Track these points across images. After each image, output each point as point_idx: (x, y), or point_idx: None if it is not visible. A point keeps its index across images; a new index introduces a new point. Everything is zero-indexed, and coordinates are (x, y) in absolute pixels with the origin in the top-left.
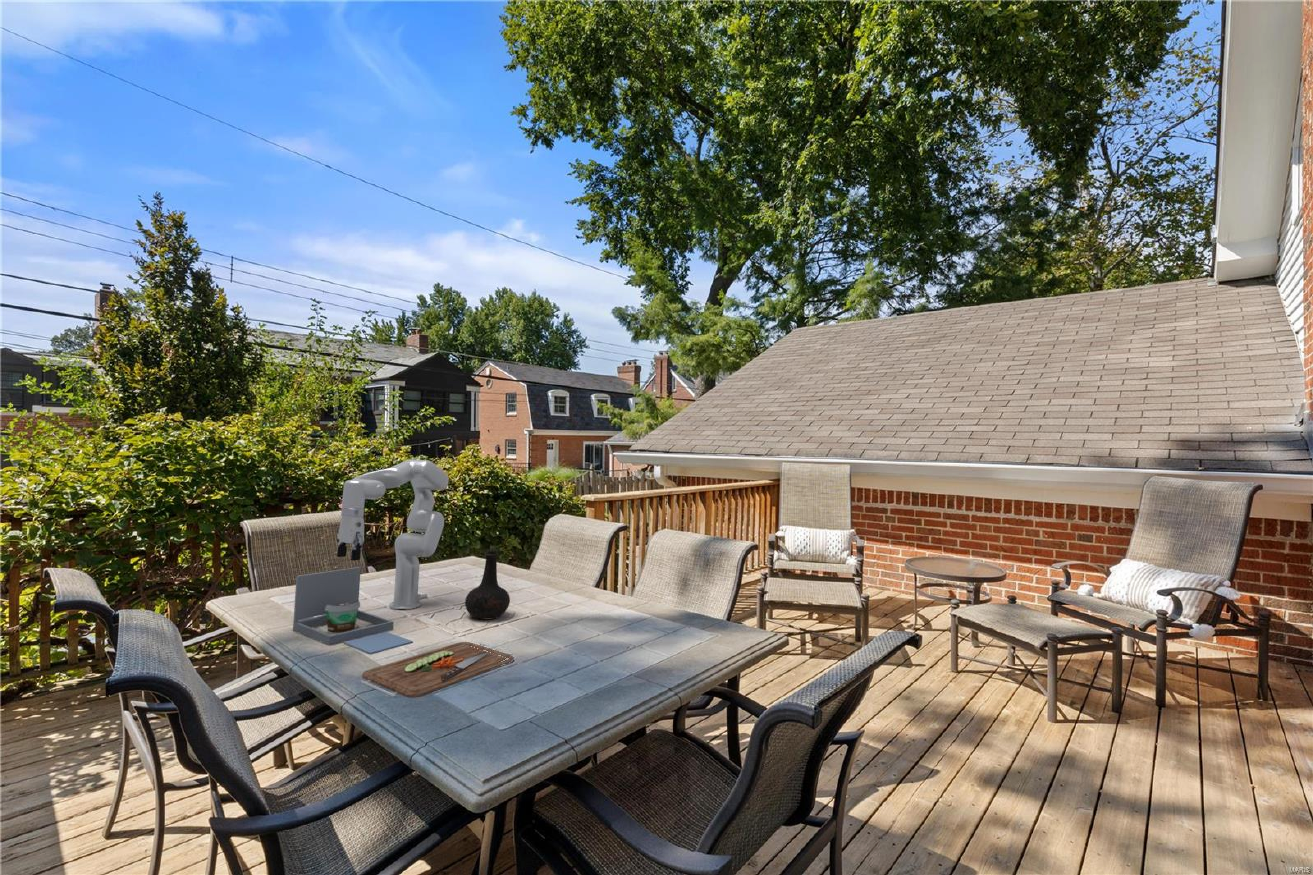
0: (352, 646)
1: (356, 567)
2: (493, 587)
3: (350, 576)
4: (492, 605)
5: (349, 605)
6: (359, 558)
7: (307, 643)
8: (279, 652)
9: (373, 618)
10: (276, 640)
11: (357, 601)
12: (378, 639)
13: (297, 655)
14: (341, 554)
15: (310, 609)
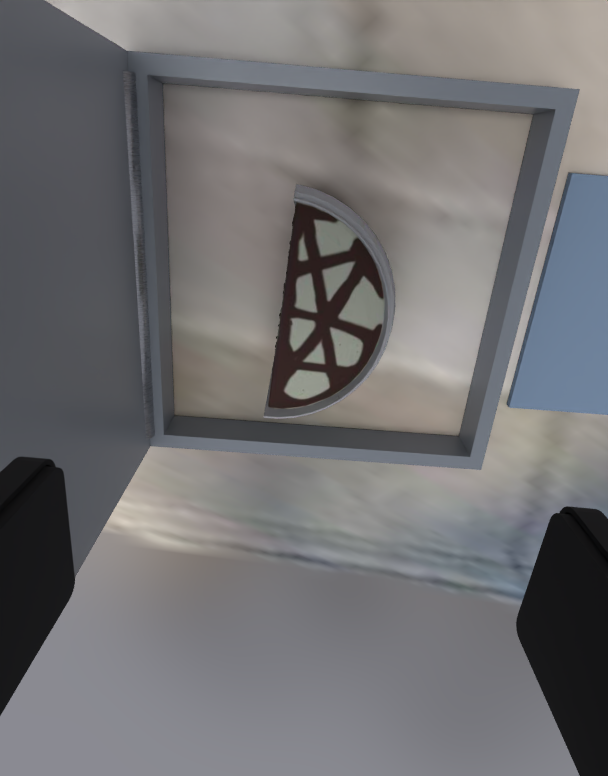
0: (579, 411)
1: None
2: None
3: None
4: None
5: (386, 332)
6: (604, 533)
7: (370, 479)
8: (381, 574)
9: (361, 95)
10: (238, 521)
11: (304, 204)
12: None
13: (463, 560)
14: (48, 574)
15: (127, 402)
